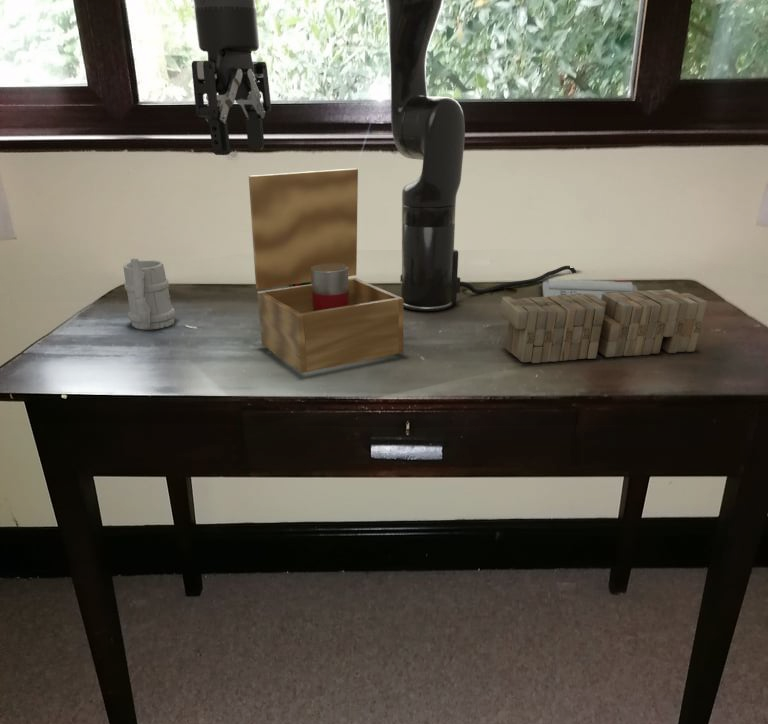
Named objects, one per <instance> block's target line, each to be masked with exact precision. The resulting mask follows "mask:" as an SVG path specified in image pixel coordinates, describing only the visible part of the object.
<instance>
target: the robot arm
mask: <svg viewBox="0 0 768 724" xmlns="http://www.w3.org/2000/svg"><path fill="white" fill-rule="evenodd" d="M383 1H384V8H385V9H384V10H385V17H386V28H387V29H386V31H387V42H388V43H387V44H388V55H389V75H390V78H389V79H390V123H391V132H392V137H393V141H394V145H395V147H396V149H397V151H398V152H399V153H400V155H402V156H403V157H405V158H407V159H411V160H419V161H422V167H421V174H420V175H419V177H418V178H417V179H416V180H414V181H412V182H410V183H408V184H405V185H404V186H403V188H402V190H401V191H402V192H401V274H400V277H399V278H400V284H401V295H400V297H402V298H403V299H404V304H403V309H407V310H411V311H417V312H437V311H443V310H447V309H449V308H451V307H452V306H457V296H458V295H457V294H459V293H461V287H462V288H463V287H464V288H467V289H468V290H469V291H470V292H472V293H473V294H486V293H490V292H494V291H497V290H500V289H504V288H509V287H516V286H524V285H529V284H534V283H538V282H541V281H542V280H543V281H544V280H545V279H546V278H548V277H550V276H553V275H557V274H558V273H561V272H563V271H567V270H568V271H570V272H571V273H577V270H576V268H575V267H573V268H570V266H571V265H563V266H560V267H558V268H555V269H553V270H549V271H547V272H545V273H543V274H542V275H539V276H538V277H534V278H529V279H524V280H516V281H509V282H504V283H500V284H496V285H493V286H490V287H487V288H476V287H474V286H473V285H472V284H471V283H468V282H465V281H461V277H459V275H458V273H459V272H458V271H459V250H457V249H456V248H455V233H456V232H455V230H456V206H457V205H456V204H457V195H458V192H459V190H460V189H459V188H460V185H461V181H462V172H463V162H464V161H463V160H464V150H465V140H466V123H465V115H464V111H463V108H462V106H461V105H460V103H459V102H458V101H457V100H456V99H454V98H452V97H449V96H428V95H429V94H428V87H427V86H428V85H427V58H428V57H427V55H428V50H429V46H430V43H431V41H432V37H433V35H434V32H435V29H436V26H437V23H438V20H439V17H440V14H441V11H442V8H443V5H444V0H383ZM256 4H257V3H256V0H193V8H194V9H193V10H194V17H195V27H196V35H197V42H198V48H199V49H200V50H201V51H202V52H204V53H205V52H206V53H207V60H193V61H192V62H191V74H192V84H193V95H194V105H195V113H196V116H197V117H199V118H204V120H205V122H208V126H209V133H210V140H211V147H212V152H213V154H214V155H216V156H228V155H230V154H231V143H230V134H229V126H228V122H226V121H227V119H228V114H229V111H230V108H231V107H233V106H234V104H235V102H236V104H237V105H239V106H240V107H241V109H242V111H243V113H244V115H245V118H246V119H245V128H246V139H247V147H248V149H249V150H251V151H252V150H254V151H255V150H258V151H260V150H263V149H264V148H265V137H264V126H263V119H264V118H265V116H266V113H271V111H272V103H271V93H270V83H269V73H268V65H267V63H266V62H265V61H253V57H252V52H256V51H258V50H259V48H260V39H259V30H258V29H259V27H258V15H257V5H256ZM204 95H206V96H205V99H206V101H207V105H205V101H204ZM261 99H262V101H261ZM218 108H219V109H218Z"/></svg>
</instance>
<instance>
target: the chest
mask: <svg viewBox="0 0 768 724" xmlns="http://www.w3.org/2000/svg"><path fill="white" fill-rule="evenodd" d="M348 284H349V306H343V307H337V308H330V309H324V310H318V311H313V301H312V284H309V285H302V286H295V287H289V286H288V287H282V288H274V289H268V290H261V291H257V293H256V294H257V304H258V313H259V324H260V335H261V344H262V346H264V347H265V348H266V349H268V350H269V351H270V352H272V353H273V354H274V355H276V356H278V357H279V358H280V359H281V360H283V361H284V362H285V363H288V365H290V366H292V367H293V368H295V369H296V370H297V371H299V372H300V373H301V374H302V373H304V374H305V373H309V372H313V371H319V370H324V369H328V368H334V367H339V366H344V365H349V364H353V363H359V362H364V361H368V360H369V361H370V360H373V359H379V358H383V357H389V356H393V355H399V354H403V353H404V307H403V304H404V299H403V298H402V296H400V295H397V294H395V293H393V292H390V291H388V290H385V289H383V288H380V287H378V286H375V285H373V284H371V283H369V282H366V281H364V280H362V279H360V278H357V277H351V278H348Z"/></svg>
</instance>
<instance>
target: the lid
mask: <svg viewBox="0 0 768 724" xmlns="http://www.w3.org/2000/svg"><path fill="white" fill-rule="evenodd" d="M358 178H359V169H358V168H355V167H354V168H339V169H327V170H312V171H298V172H297V171H296V172H283V173H281V172H280V173H268V174H254V175H248V186H249V187H248V188H249V202H250V215H251V216H250V217H251V218H250V219H251V233H252V247H253V248H252V249H253V263H254V264H253V265H254V278H255V279H254V280H255V288H256V289H257V290H263V289H270V288H277V287H285V286H288V285H292V284H299V283H306V282H312V280H311V267H312V266H315V265H319V264H328V263H335V264H343V265H346V266H347V267H348V277H355V276H357V261H358V259H357V258H358V256H357V255H358V200H359V199H358V197H359V196H358V195H359V193H358V191H359V189H358V188H359V179H358Z"/></svg>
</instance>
